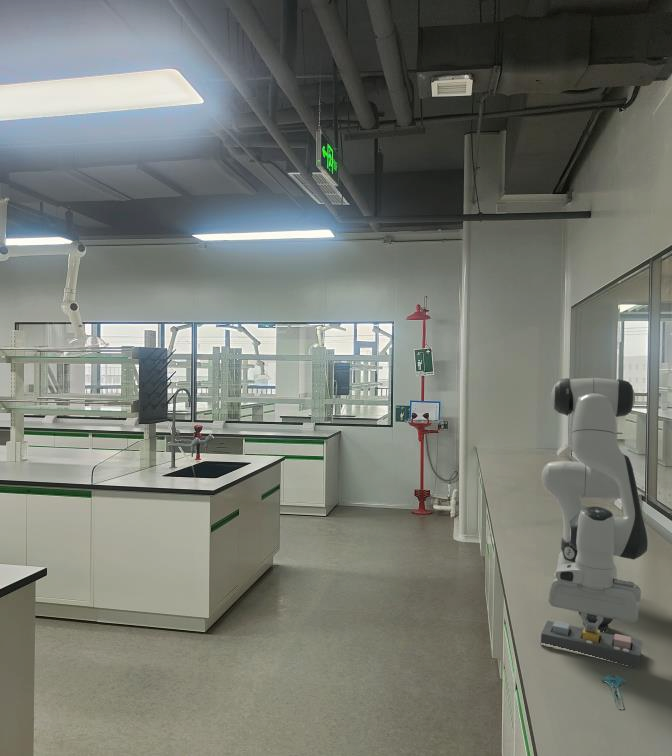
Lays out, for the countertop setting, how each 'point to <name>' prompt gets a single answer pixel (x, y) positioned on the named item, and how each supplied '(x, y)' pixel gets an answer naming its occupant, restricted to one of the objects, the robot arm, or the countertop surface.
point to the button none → (561, 628)
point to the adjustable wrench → (614, 681)
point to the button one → (591, 635)
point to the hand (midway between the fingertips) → (591, 631)
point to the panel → (593, 645)
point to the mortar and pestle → (593, 619)
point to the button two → (622, 641)
